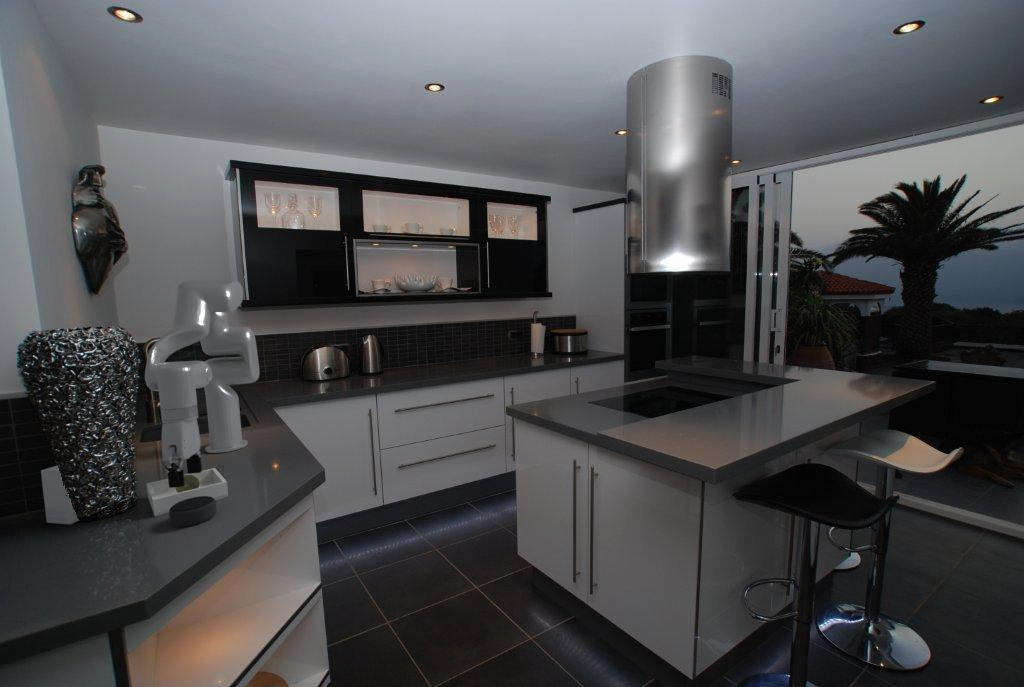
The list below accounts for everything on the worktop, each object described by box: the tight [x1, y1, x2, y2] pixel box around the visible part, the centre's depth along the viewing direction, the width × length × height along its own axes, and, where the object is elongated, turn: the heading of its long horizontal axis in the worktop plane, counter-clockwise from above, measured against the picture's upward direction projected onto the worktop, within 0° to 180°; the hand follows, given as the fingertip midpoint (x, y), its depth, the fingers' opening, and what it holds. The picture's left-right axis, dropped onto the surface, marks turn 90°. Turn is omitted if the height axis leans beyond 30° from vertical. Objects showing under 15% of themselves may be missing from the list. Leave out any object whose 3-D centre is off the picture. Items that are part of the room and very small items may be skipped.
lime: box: [175, 474, 199, 493], centre depth 118 cm, size 4×5×5 cm
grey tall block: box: [40, 465, 80, 525], centre depth 109 cm, size 7×7×13 cm
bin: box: [146, 467, 229, 517], centre depth 118 cm, size 15×15×4 cm
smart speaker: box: [168, 496, 218, 528], centre depth 106 cm, size 9×9×4 cm
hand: (186, 479), depth 118 cm, fingers open, 9 cm apart
